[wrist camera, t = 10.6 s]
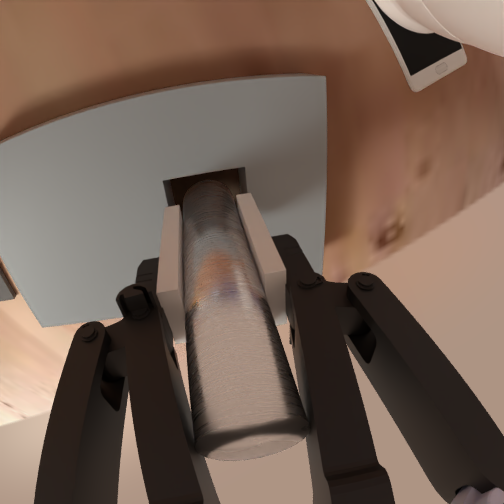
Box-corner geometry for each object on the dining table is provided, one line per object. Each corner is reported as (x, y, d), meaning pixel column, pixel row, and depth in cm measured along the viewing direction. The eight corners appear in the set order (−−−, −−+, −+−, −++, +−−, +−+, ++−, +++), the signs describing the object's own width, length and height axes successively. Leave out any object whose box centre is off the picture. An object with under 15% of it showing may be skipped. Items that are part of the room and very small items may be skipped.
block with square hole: (53, 298, 23) (42, 327, 20) (-11, 146, 15) (-37, 162, 12) (306, 254, 25) (321, 281, 22) (303, 73, 17) (325, 76, 14)
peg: (187, 229, 19) (208, 465, 8) (178, 185, 17) (181, 431, 6) (235, 221, 19) (306, 447, 8) (230, 175, 18) (314, 406, 6)
